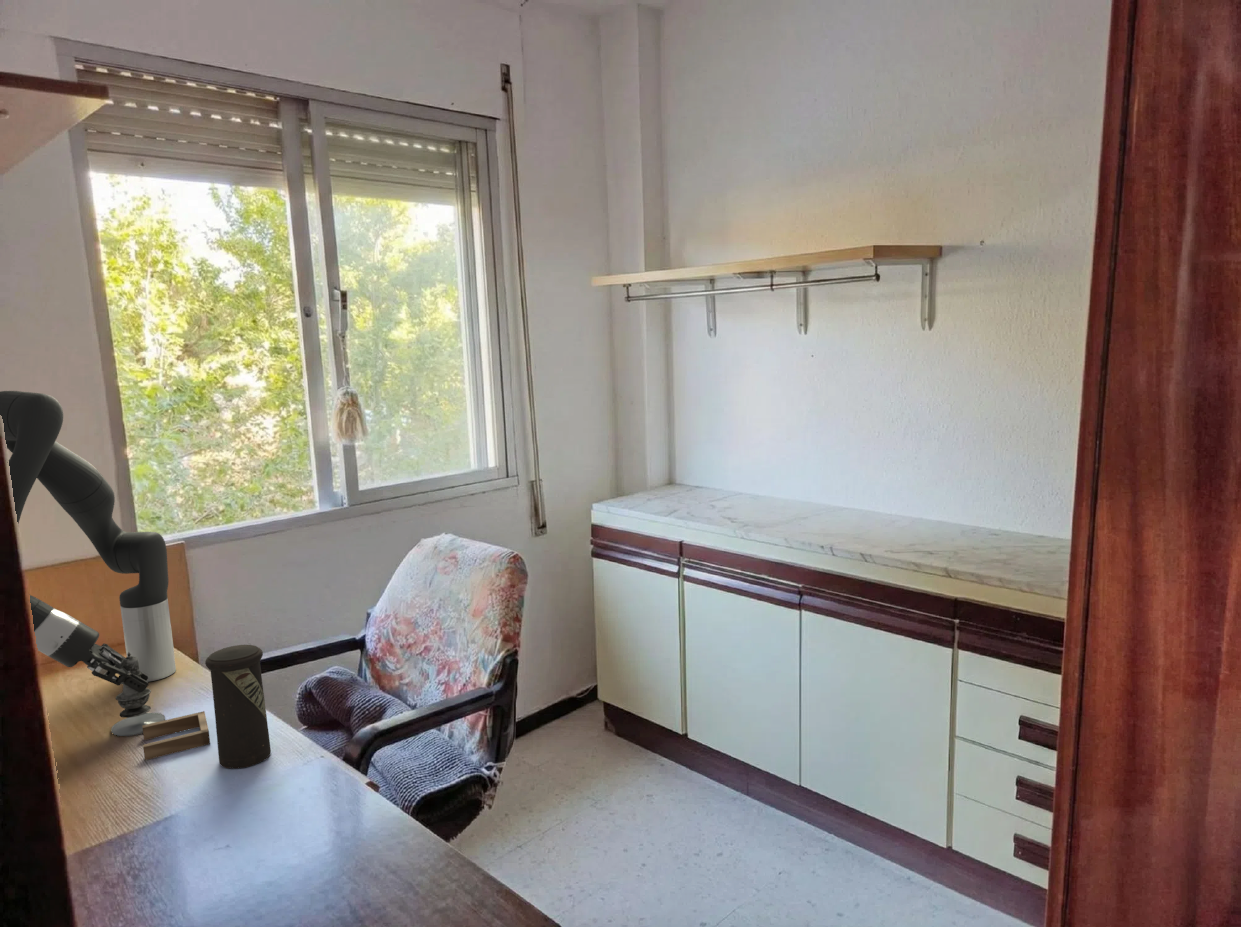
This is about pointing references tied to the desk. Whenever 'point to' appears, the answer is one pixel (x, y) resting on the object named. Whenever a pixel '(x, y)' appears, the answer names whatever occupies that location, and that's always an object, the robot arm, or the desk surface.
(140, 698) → the stone finial
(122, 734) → the grey oval disc
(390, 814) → the desk surface
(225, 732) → the container
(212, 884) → the desk surface
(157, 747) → the wooden arch
